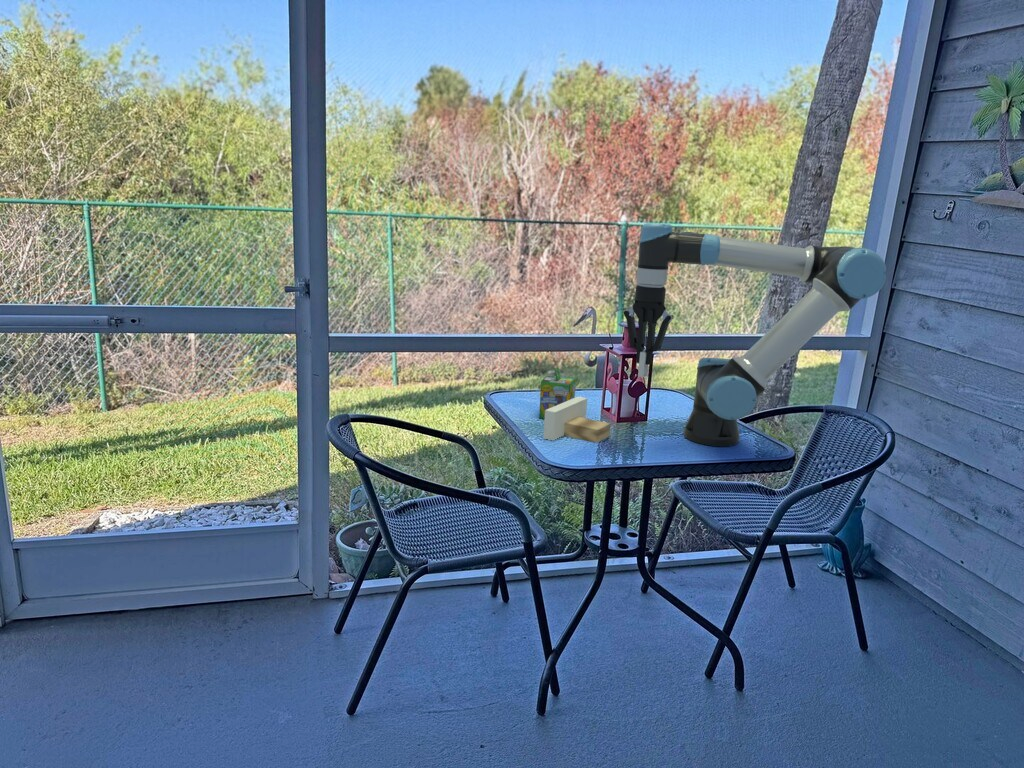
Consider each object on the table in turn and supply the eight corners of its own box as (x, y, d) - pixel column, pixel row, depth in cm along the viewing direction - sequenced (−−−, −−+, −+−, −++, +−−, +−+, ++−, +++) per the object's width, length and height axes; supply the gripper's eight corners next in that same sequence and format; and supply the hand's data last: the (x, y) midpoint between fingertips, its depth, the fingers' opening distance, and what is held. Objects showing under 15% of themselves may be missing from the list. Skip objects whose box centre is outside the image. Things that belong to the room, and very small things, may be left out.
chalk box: (568, 422, 215) (572, 373, 212) (538, 418, 218) (541, 370, 214) (574, 414, 224) (578, 367, 221) (545, 411, 226) (548, 364, 223)
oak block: (609, 437, 204) (610, 423, 204) (596, 444, 198) (598, 430, 197) (577, 430, 209) (578, 416, 209) (564, 436, 203) (565, 422, 202)
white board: (585, 424, 214) (587, 398, 212) (552, 441, 197) (555, 412, 195) (576, 422, 216) (578, 396, 214) (543, 438, 199) (545, 410, 197)
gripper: (680, 287, 186) (671, 377, 192) (632, 282, 193) (624, 370, 198) (671, 288, 180) (661, 382, 185) (621, 283, 186) (613, 374, 192)
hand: (642, 376), depth 192 cm, fingers closed
